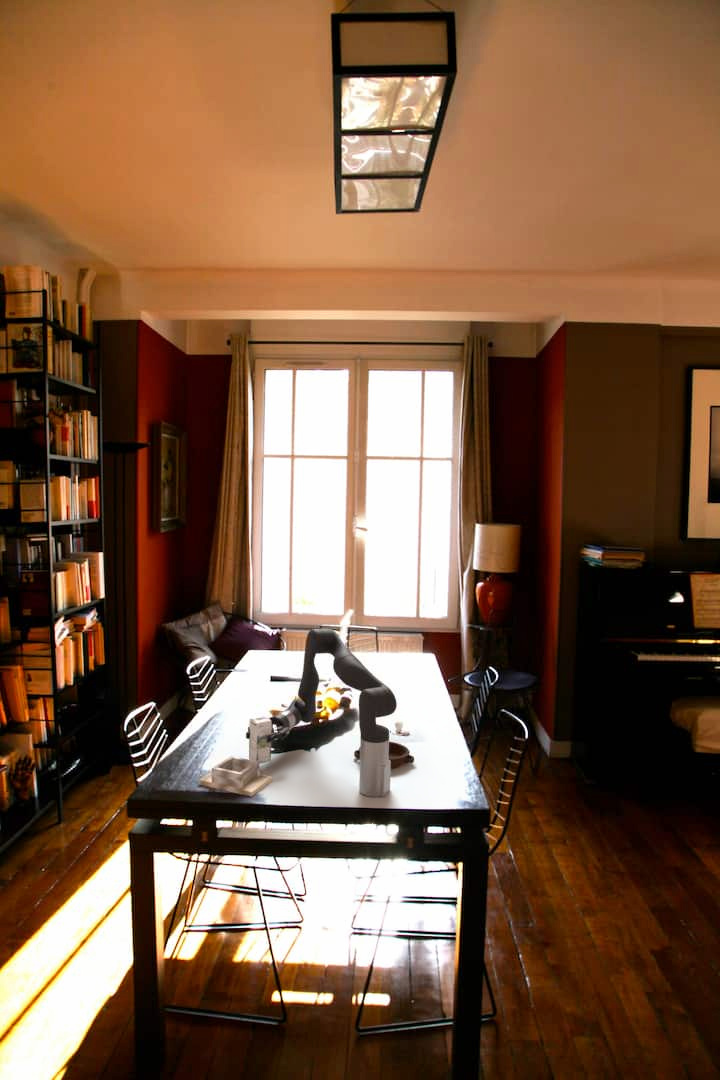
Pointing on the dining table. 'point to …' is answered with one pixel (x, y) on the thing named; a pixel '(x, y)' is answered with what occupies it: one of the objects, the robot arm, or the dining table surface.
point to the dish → (395, 754)
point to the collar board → (236, 776)
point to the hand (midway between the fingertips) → (257, 737)
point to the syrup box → (259, 739)
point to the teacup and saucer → (400, 728)
